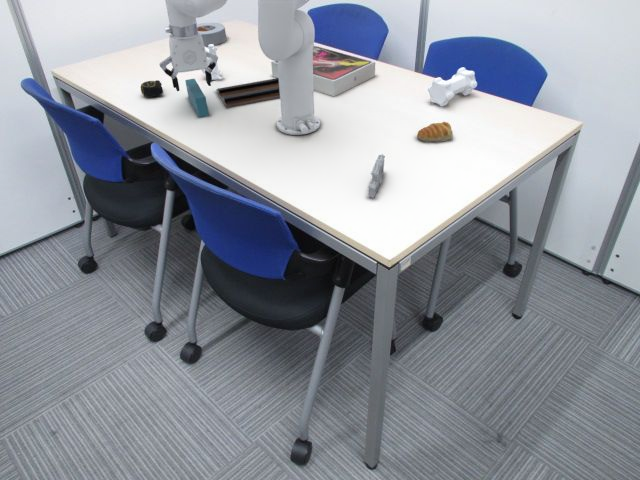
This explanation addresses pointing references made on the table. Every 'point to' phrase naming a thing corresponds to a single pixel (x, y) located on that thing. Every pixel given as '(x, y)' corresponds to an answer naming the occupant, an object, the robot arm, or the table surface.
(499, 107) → the table surface
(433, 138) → the pastry
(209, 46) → the white animal statuette
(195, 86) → the teal bar
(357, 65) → the product packaging
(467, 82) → the bone shaped toy
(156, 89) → the tape measure
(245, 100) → the holder board
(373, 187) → the garden wall model
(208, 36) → the tape roll
